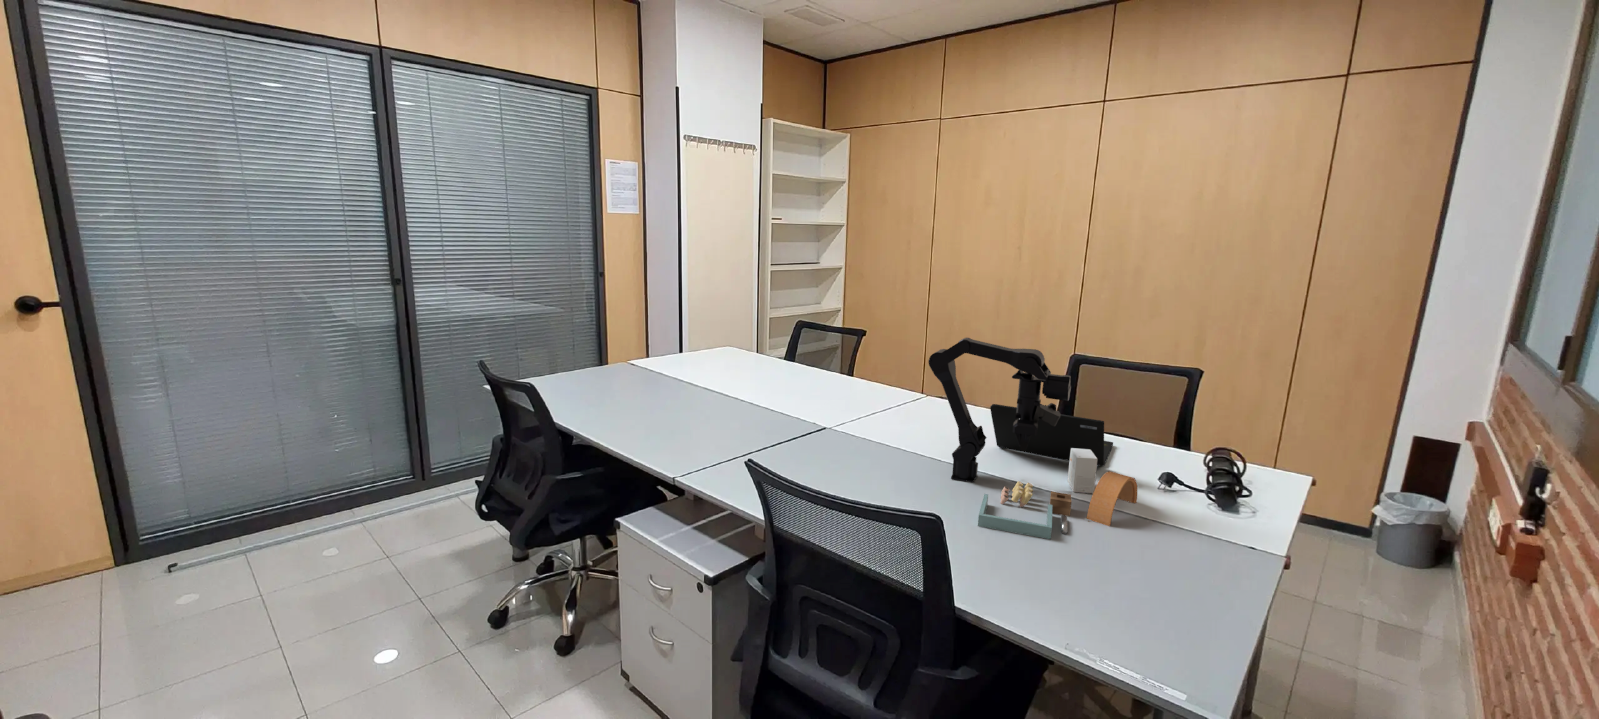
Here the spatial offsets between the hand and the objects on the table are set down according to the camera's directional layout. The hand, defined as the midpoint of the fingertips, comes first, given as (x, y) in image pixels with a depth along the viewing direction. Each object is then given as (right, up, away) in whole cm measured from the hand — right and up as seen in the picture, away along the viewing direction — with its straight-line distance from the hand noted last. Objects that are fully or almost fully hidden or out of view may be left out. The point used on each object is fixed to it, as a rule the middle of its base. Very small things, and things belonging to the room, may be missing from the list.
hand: (1023, 449), depth 178 cm
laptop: (+20, -6, +31) cm, 38 cm away
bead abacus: (-4, -14, -5) cm, 15 cm away
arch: (+20, -15, -10) cm, 27 cm away
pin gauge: (+3, -17, -20) cm, 26 cm away
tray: (-8, -16, -16) cm, 24 cm away
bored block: (+6, -15, -11) cm, 19 cm away
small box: (+18, -12, +4) cm, 22 cm away
